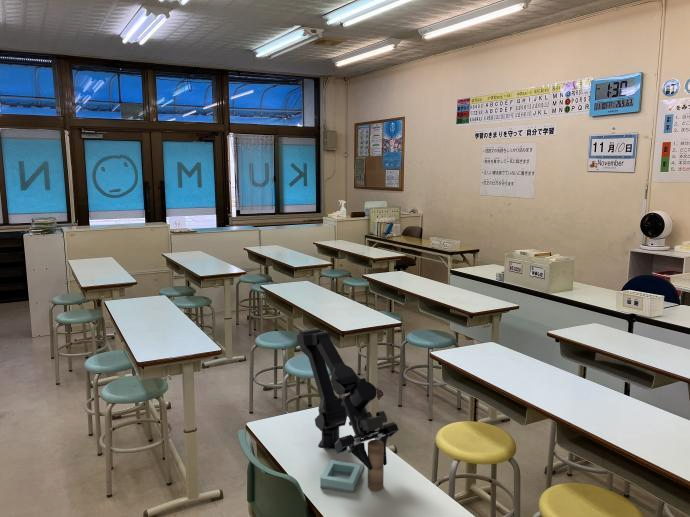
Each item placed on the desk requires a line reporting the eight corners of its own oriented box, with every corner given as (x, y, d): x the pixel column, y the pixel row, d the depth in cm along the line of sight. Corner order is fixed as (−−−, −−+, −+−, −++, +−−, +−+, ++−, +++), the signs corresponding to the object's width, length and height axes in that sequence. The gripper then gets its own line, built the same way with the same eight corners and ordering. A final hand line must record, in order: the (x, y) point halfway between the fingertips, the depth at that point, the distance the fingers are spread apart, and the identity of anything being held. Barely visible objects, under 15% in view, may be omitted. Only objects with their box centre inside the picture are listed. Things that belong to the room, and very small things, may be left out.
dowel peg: (369, 480, 154) (369, 438, 151) (384, 483, 152) (385, 440, 150) (366, 489, 149) (366, 446, 147) (381, 492, 148) (381, 448, 146)
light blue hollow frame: (333, 462, 163) (333, 453, 162) (364, 467, 160) (364, 458, 160) (320, 487, 150) (320, 478, 150) (353, 493, 148) (352, 483, 147)
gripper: (338, 411, 145) (360, 468, 138) (395, 395, 154) (418, 448, 147) (325, 425, 154) (345, 480, 146) (380, 410, 163) (401, 461, 155)
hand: (378, 467), depth 148 cm, fingers closed on dowel peg, 4 cm apart
